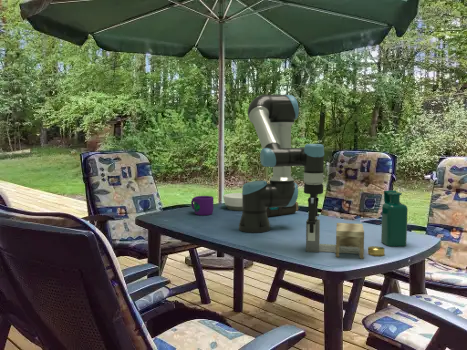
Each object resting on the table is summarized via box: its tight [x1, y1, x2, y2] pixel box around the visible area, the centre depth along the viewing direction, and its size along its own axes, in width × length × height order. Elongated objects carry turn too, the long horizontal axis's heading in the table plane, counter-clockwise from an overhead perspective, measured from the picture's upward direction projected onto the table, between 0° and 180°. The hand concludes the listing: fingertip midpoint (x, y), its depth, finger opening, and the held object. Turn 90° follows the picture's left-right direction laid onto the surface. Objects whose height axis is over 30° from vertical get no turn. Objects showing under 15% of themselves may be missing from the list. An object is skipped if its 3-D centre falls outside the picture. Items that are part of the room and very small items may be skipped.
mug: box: [190, 195, 214, 216], centre depth 254 cm, size 17×11×10 cm, turn 43°
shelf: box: [335, 222, 365, 260], centre depth 169 cm, size 10×15×10 cm, turn 166°
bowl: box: [222, 192, 243, 212], centre depth 270 cm, size 22×22×8 cm
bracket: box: [305, 218, 360, 256], centre depth 171 cm, size 22×7×12 cm, turn 76°
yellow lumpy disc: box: [367, 245, 385, 257], centre depth 167 cm, size 6×6×2 cm
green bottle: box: [380, 189, 409, 248], centre depth 182 cm, size 10×8×22 cm
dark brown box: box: [266, 201, 299, 218], centre depth 246 cm, size 11×7×30 cm
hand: (312, 236), depth 173 cm, fingers open, 13 cm apart
